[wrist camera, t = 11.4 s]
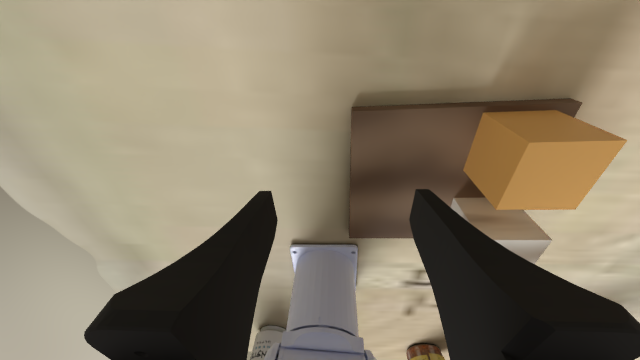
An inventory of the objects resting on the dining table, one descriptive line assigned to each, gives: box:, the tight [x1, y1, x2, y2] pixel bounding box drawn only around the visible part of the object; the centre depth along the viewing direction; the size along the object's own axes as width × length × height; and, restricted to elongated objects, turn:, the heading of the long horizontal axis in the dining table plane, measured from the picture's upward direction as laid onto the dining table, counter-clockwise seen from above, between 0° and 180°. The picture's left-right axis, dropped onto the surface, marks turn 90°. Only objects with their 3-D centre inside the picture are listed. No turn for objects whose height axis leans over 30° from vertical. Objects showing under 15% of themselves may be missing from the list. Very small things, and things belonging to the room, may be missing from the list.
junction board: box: [349, 99, 582, 264], centre depth 19 cm, size 14×16×6 cm
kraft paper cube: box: [463, 110, 627, 210], centre depth 16 cm, size 5×5×5 cm
